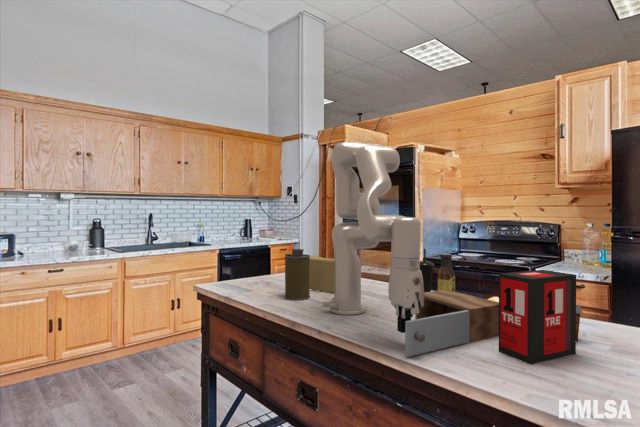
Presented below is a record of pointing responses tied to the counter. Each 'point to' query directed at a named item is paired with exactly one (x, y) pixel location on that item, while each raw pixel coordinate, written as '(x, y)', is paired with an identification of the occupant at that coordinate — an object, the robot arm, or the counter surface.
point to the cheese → (321, 274)
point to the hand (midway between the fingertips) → (404, 331)
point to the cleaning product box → (537, 315)
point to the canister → (297, 275)
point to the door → (436, 332)
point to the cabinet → (481, 310)
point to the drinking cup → (426, 273)
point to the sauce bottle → (446, 274)
